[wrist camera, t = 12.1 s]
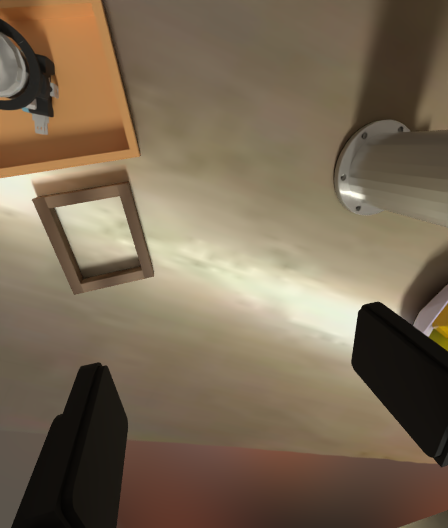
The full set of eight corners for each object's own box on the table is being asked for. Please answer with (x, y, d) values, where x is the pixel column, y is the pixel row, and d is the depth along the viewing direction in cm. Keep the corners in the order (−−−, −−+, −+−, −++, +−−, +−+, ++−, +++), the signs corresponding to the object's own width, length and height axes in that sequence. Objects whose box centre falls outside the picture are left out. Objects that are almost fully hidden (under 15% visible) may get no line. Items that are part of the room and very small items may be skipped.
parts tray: (103, 5, 25) (97, -11, 22) (140, 155, 31) (139, 156, 28) (-97, 18, 22) (-130, 1, 20) (-16, 179, 28) (-33, 183, 25)
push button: (73, 139, 28) (38, 136, 19) (13, 128, 27) (-56, 120, 18) (71, 63, 26) (30, 20, 17) (5, 46, 24) (-80, -10, 15)
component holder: (128, 181, 31) (127, 183, 30) (153, 271, 37) (153, 276, 35) (37, 197, 30) (31, 199, 28) (76, 289, 35) (73, 294, 34)
